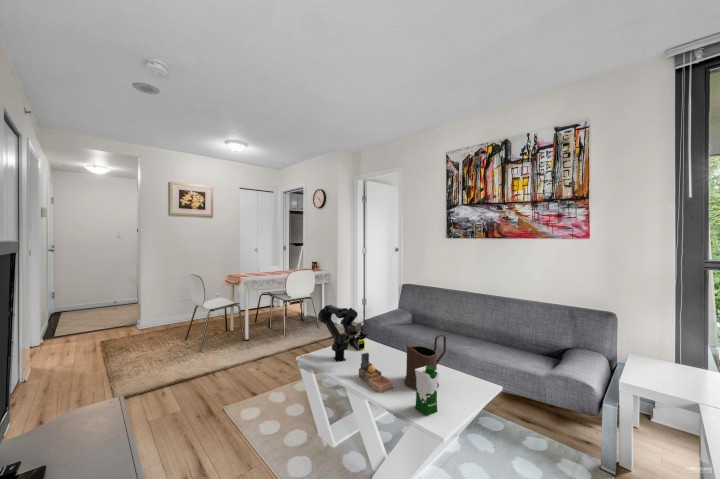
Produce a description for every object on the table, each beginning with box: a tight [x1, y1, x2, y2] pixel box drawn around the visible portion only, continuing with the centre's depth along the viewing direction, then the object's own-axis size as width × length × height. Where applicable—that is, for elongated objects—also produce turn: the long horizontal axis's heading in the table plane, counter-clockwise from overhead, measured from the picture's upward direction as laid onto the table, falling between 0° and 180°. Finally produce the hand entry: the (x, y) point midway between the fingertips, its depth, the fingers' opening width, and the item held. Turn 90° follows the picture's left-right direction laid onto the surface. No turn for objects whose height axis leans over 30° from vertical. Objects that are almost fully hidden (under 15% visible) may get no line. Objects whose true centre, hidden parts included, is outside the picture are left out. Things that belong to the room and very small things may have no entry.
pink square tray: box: [367, 375, 394, 393], centre depth 163 cm, size 9×9×3 cm
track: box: [358, 367, 382, 385], centre depth 171 cm, size 10×8×5 cm
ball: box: [368, 364, 376, 373], centre depth 170 cm, size 4×4×4 cm
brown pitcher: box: [403, 333, 447, 391], centre depth 169 cm, size 18×24×25 cm
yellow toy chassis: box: [348, 339, 366, 351], centre depth 222 cm, size 16×6×8 cm, turn 32°
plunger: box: [360, 352, 373, 371], centre depth 174 cm, size 4×5×8 cm
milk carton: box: [414, 366, 440, 417], centre depth 142 cm, size 9×9×20 cm
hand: (358, 350), depth 181 cm, fingers closed
